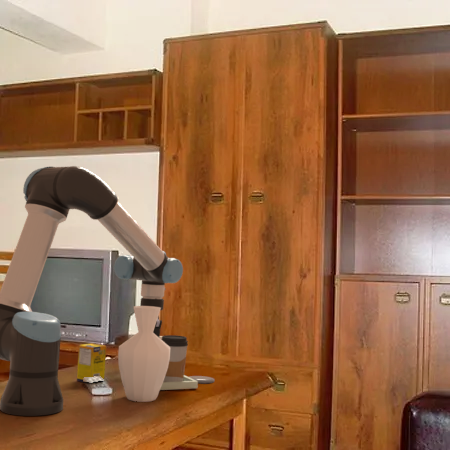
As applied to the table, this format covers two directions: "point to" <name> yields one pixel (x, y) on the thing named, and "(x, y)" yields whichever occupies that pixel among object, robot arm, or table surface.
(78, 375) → the supplement box
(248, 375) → the table surface
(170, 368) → the coffee cup
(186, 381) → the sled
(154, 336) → the vase
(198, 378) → the coaster
